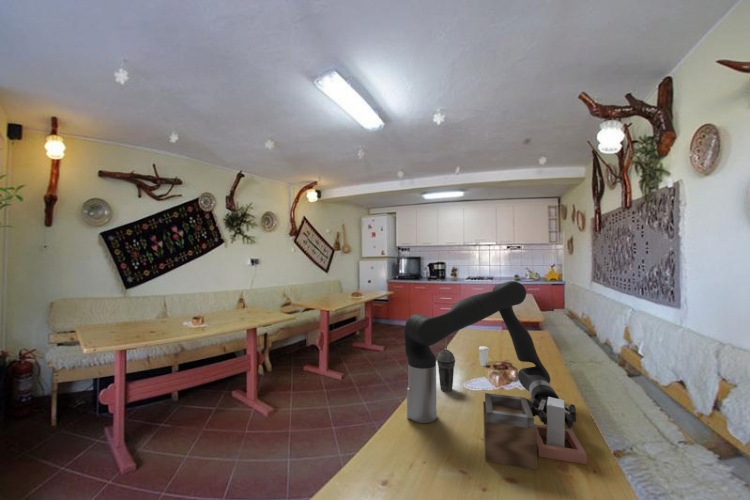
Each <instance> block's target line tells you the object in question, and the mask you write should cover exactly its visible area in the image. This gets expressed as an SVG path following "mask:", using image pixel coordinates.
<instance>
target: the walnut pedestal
mask: <svg viewBox="0 0 750 500" xmlns="http://www.w3.org/2000/svg"><path fill="white" fill-rule="evenodd" d="M526 399H527V397H524V396H514V395H505V394H496V393H488V392H487V393H486V392H484V401H483V403H482V405H483V406H482V407H483V409H482V410H483V443H484V455H485V462H489V463H494V464H495V463H496V464H501V465H505V466H512V467H518V468H524V469H529V470H536V471H537V470H538V452H537V433H536V427H535V418H534V417H535V416H533V415H532V412H531V410H530V407H529V405H528V402H527V400H526Z"/></svg>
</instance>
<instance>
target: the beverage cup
mask: <svg viewBox="0 0 750 500" xmlns="http://www.w3.org/2000/svg"><path fill="white" fill-rule="evenodd" d="M436 364H437V365H438V376H439V386H440V390H441V392H446V393H450V392H452V391H453V386H454V385H453V384H454V373H455V371H454V370H455V365H456V357H455V355H454V353H453V352H451V351H450V350H449V349H448V339H447V337H445V349H442V350H440V352H439V353H438V354H437V357H436Z"/></svg>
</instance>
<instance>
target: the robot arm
mask: <svg viewBox="0 0 750 500" xmlns="http://www.w3.org/2000/svg"><path fill="white" fill-rule="evenodd" d="M526 298H527V289H526V288H525V286H524V285H523V284H522V283H520V282H518V281H515V280H514V281H513V280H510V281H506V282H503V283H498V284H496V285H495V286H493V288H492V291H487V292H481V293H478V294H474V295H471V296H468V297H466V298H463V299H460V300H459V301H457V302H455V303H454V304H453V305H452V307H451V308H450V309H449V310H448V311H447V312H444V313H442V314H440V315H435V316H433V317H432V316H426V315H423V314H416V313H415V314H412V315H411V316H409V317H408V319H407V320H406V322H405V326H404V342H405V343H404V344H405V345H404V346H405V354H406V357H407V366H408V367H407V369H408V370H407V371H408V372H407V378H408V379H407V381H408V383H407V385H408V386H407V388H406V418H407V419H410V420H411V421H412V422H413V421H414V422H415V423H419V424H430V423H434V421H436V419H437V414H438V413H437V412H438V411H437V357H436V355H435V354H434V352H433V351H432V350H431V348H430V347H431V346H433V345H435V344H437V343H438V342H441V341H442V340H444V339H446V338H447V337H448V336H450V335H452V334H454V333H456V332H458V331H460V330H462V329H463V330H464V329H465V328H467V327H470V326H472V325H474V324H477V323H479V322H481V321H483V320H485V319H486V318H488V317H491V316H492V315H494V314H496V313H499V314H500V316H501V319H502V321H503V323H504V325H505V326H506V329H507V331H508V333H509V336H510V338H511V341H512V345H513V349H514V351H515V354H516V357H517V359H518V361H520V362H524V363H532V364H534V366H531V367H530V366H529V367H523V368H521V369H520V370H518V373H517V378H518V381H519V383H520V384H521V386H522V387H523V388H524V389H525V390H526V391H527V392H529V395H530V399H531V400H532V401H531V400H530V399H528V398H526V400H527V402H528V405H529V407H530V410H531V412H532V415H533V417H536V416H537V417H538V419H539V421H540V422H541V423H543V425H544V426H547V400H548V397H552V398H557V399H560V398H559V396H558V394H557V392H556V391H555V390H554V387H552V385H551V384H550V383H551V376H550V374H549V372H548V370H547V368H546V367H545V366H544V365H543V363H542V361H541V359H540V357H539V355H538V353H537V351H536V347H535V345H534V344H535V343H534V340H533V338H532V336H531V334H530V332H529V331H528V330H527V329H526V327H525V326H524V325H523V323H521V322H520V320H519V319H518V317H517V316H516V314H515V311H514V309H513V306H518V305H520V304H522V303H523V302H524V301H525V300H526ZM574 423H577V409H576V405H575V404H573V403H572V404H569V405H565V425H566V427H567V429H572V427H573V428H574Z"/></svg>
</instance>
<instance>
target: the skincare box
mask: <svg viewBox="0 0 750 500" xmlns="http://www.w3.org/2000/svg"><path fill="white" fill-rule="evenodd" d="M565 406H566V404H565V400H564V399H560V398H559V399H557V398H552V397H548V400H547V414H546V416H547V425H546V426H547V437H546V445H550V446H557V447H564V448H565V442H566V440H565V428H566V426H565V425H566V423H565Z"/></svg>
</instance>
